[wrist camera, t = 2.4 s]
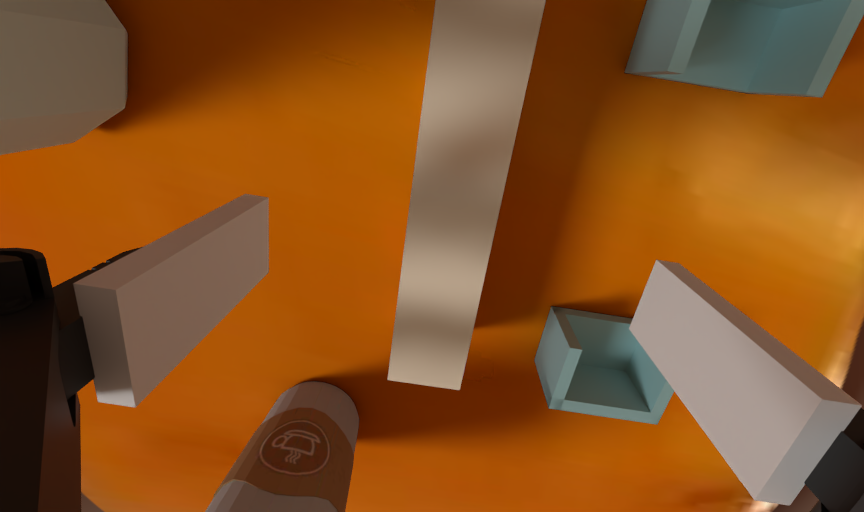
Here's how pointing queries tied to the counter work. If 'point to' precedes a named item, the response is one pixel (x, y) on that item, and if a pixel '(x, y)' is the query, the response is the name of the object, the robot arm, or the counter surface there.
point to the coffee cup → (296, 456)
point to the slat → (459, 180)
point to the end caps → (712, 67)
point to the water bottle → (58, 71)
